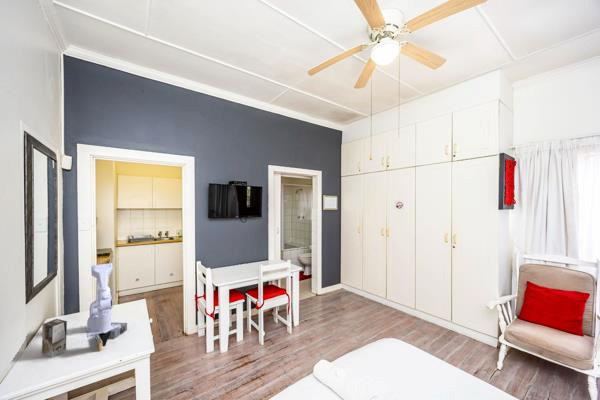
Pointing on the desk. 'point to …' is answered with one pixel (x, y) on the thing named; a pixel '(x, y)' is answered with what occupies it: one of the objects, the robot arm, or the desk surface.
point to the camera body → (117, 330)
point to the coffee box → (54, 337)
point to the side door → (99, 342)
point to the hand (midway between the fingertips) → (104, 345)
